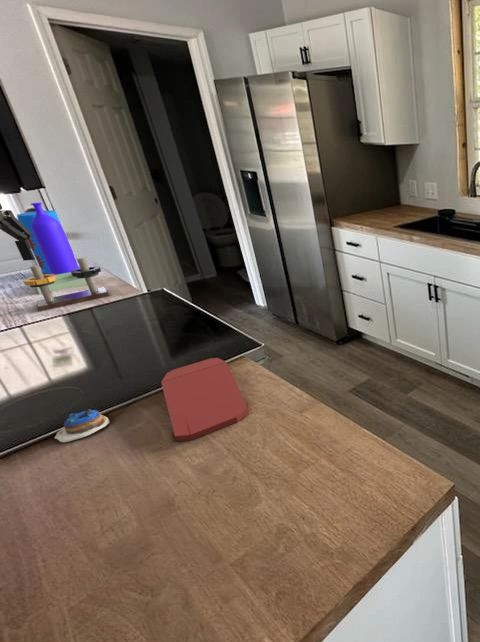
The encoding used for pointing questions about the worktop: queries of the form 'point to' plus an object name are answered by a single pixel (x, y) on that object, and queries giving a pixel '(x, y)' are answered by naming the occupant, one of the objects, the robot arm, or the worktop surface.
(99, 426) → the dessert
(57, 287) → the tray
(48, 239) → the bottle
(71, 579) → the worktop surface
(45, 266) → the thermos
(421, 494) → the worktop surface
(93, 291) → the rack
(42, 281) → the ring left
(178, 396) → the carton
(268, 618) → the worktop surface
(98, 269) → the ring right
